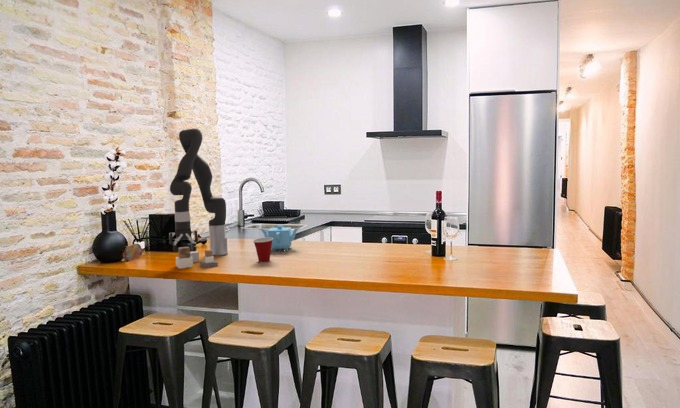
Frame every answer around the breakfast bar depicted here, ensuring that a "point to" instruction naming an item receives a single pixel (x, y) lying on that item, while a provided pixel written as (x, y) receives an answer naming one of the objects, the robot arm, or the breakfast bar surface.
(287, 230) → the teakettle
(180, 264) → the base block
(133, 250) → the stone slab
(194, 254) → the grey cube
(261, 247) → the plastic cup
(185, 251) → the walnut cube
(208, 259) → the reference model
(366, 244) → the breakfast bar surface
